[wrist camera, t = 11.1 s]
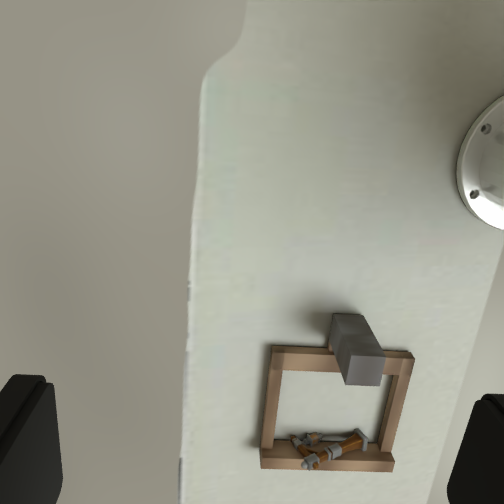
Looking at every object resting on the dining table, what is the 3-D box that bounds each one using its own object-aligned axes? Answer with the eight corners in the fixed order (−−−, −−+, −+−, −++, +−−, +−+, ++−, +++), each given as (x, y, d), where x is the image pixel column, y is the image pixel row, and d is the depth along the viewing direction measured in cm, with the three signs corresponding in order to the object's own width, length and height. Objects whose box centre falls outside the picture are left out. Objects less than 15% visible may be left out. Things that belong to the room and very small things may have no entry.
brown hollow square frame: (419, 318, 44) (451, 360, 37) (384, 454, 50) (407, 509, 44) (275, 310, 43) (283, 352, 36) (259, 450, 49) (263, 506, 43)
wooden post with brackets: (283, 434, 48) (306, 465, 44) (343, 412, 51) (369, 439, 48) (283, 447, 49) (305, 479, 45) (341, 425, 52) (367, 452, 48)
